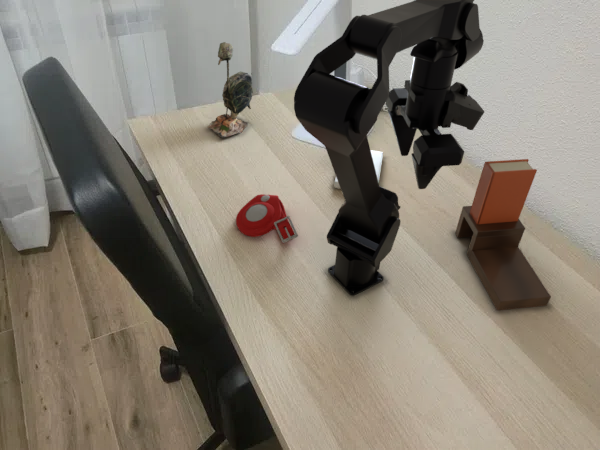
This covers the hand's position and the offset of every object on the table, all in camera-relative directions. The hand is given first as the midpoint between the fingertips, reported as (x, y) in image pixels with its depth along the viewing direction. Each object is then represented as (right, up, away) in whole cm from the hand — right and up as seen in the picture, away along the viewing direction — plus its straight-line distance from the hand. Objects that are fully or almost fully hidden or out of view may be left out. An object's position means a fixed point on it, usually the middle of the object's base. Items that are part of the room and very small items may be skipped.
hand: (412, 171), depth 88 cm
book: (+13, -7, +1) cm, 15 cm away
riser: (+14, -15, +1) cm, 21 cm away
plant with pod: (-33, +13, +32) cm, 48 cm away
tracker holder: (-24, -9, +7) cm, 26 cm away
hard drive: (-6, +2, +20) cm, 21 cm away
